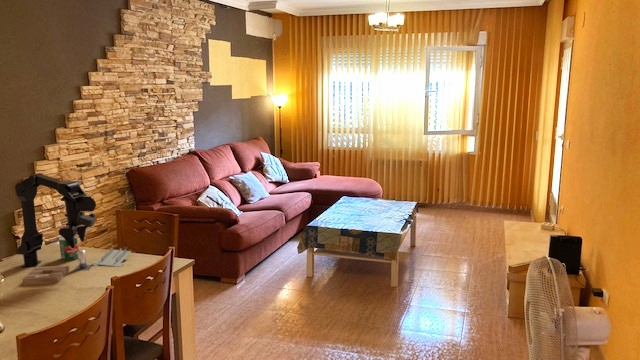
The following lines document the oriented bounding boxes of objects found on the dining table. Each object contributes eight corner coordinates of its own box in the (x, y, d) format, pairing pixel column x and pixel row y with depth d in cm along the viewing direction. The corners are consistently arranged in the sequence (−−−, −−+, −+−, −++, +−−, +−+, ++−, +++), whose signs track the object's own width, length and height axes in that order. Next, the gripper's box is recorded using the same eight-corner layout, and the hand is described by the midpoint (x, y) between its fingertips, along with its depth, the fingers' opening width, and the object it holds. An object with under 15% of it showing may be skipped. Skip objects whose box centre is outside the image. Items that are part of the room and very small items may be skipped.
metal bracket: (106, 244, 245) (135, 247, 242) (109, 254, 247) (137, 257, 244) (89, 262, 232) (118, 265, 229) (92, 272, 235) (121, 275, 232)
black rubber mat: (77, 266, 234) (77, 265, 234) (93, 265, 235) (93, 264, 235) (72, 272, 227) (72, 271, 227) (89, 271, 228) (88, 270, 228)
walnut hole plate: (36, 273, 226) (35, 266, 225) (69, 271, 228) (68, 264, 227) (23, 286, 212) (22, 278, 211) (58, 283, 214) (57, 276, 213)
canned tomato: (68, 256, 248) (66, 234, 246) (83, 257, 246) (80, 235, 244) (57, 261, 240) (54, 239, 238) (72, 262, 239) (69, 240, 237)
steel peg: (80, 266, 232) (78, 250, 230) (87, 266, 232) (86, 249, 231) (78, 269, 229) (76, 252, 227) (85, 268, 229) (83, 251, 228)
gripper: (82, 215, 214) (86, 250, 217) (100, 204, 232) (104, 237, 235) (55, 216, 214) (60, 251, 217) (76, 206, 232) (80, 238, 235)
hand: (78, 244), depth 226 cm, fingers open, 9 cm apart
